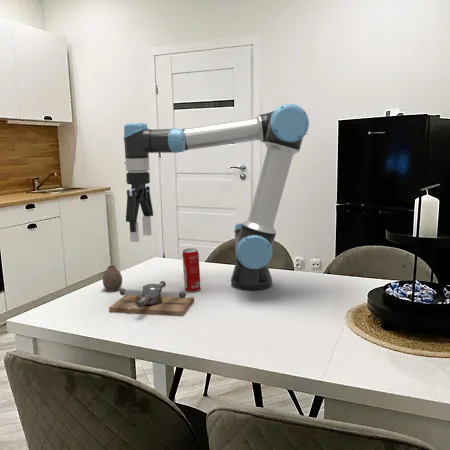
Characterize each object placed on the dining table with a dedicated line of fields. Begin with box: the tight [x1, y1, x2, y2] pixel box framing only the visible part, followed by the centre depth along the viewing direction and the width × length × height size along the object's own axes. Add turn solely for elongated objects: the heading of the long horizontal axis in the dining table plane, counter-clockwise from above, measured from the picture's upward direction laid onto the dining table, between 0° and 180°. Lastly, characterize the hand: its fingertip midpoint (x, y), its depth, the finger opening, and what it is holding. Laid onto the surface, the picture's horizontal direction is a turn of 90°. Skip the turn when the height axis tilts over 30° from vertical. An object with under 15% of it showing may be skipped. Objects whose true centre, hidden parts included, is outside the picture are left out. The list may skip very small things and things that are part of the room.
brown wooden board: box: [108, 295, 195, 317], centre depth 145 cm, size 24×14×2 cm, turn 79°
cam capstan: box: [119, 280, 187, 308], centre depth 145 cm, size 22×22×5 cm
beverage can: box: [181, 247, 202, 293], centre depth 161 cm, size 6×6×15 cm
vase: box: [102, 264, 123, 292], centre depth 164 cm, size 7×7×9 cm
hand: (141, 238), depth 151 cm, fingers open, 10 cm apart
